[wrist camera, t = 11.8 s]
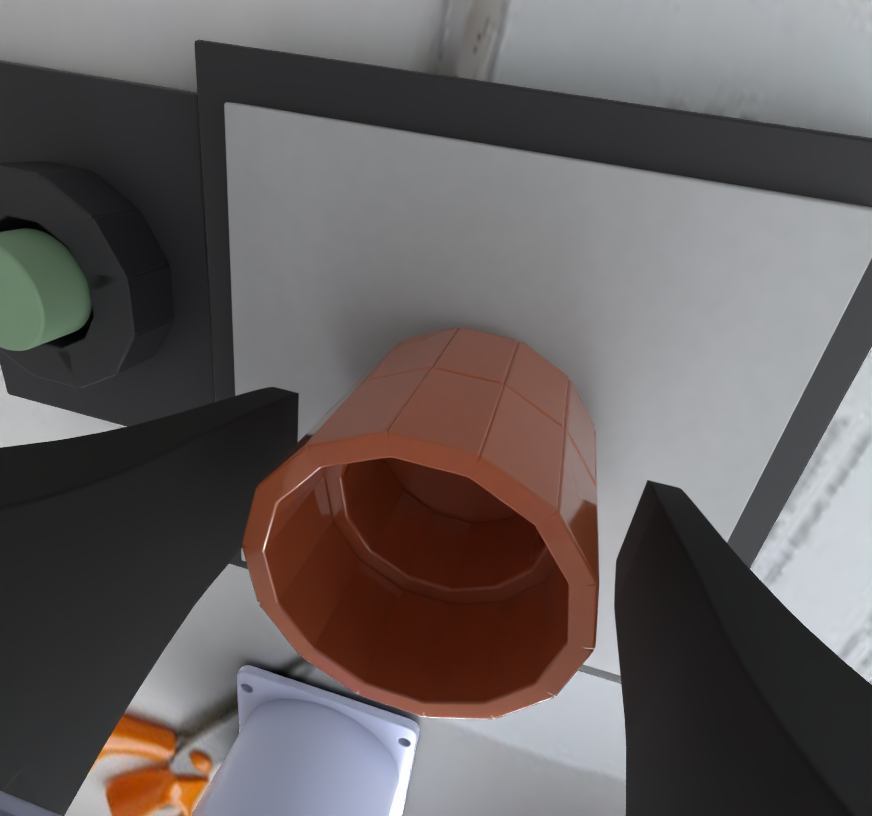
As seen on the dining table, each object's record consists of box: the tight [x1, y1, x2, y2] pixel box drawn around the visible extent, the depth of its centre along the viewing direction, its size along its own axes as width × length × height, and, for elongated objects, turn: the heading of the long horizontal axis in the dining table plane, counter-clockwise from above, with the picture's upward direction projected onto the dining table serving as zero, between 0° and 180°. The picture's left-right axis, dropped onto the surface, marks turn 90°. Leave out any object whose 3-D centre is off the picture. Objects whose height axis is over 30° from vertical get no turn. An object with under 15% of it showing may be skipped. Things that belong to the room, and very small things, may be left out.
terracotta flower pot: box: [242, 327, 599, 719], centre depth 10 cm, size 5×6×5 cm
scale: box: [195, 40, 872, 684], centre depth 14 cm, size 14×14×3 cm
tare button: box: [0, 228, 92, 351], centre depth 14 cm, size 3×3×2 cm
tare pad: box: [0, 61, 215, 426], centre depth 15 cm, size 10×8×2 cm
